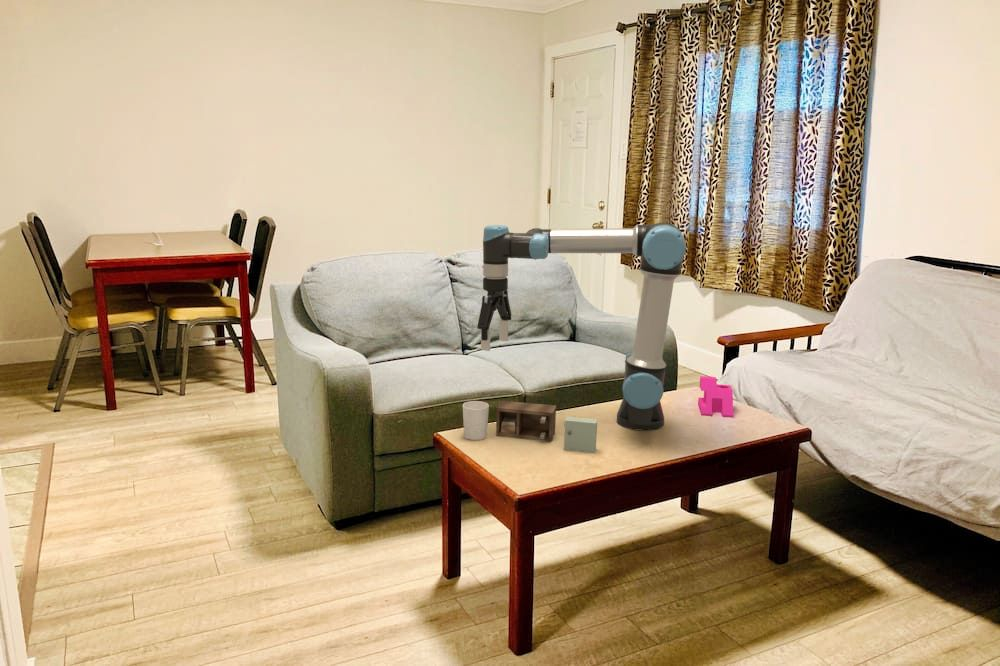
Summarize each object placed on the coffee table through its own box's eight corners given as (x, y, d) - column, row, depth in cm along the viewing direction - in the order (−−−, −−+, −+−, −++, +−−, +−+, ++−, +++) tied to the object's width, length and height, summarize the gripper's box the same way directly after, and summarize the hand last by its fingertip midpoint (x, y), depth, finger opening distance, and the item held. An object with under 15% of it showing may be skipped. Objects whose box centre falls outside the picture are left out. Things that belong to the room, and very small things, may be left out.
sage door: (595, 448, 224) (597, 419, 222) (594, 453, 220) (595, 424, 218) (565, 445, 226) (566, 416, 224) (563, 450, 222) (564, 421, 220)
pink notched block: (697, 404, 266) (700, 376, 263) (728, 406, 264) (731, 378, 262) (701, 415, 254) (703, 386, 252) (733, 418, 253) (736, 388, 250)
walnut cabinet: (555, 433, 236) (556, 405, 233) (550, 444, 227) (551, 415, 224) (501, 428, 239) (501, 400, 237) (494, 438, 230) (494, 410, 228)
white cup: (489, 432, 235) (490, 401, 233) (486, 441, 228) (487, 410, 225) (464, 431, 236) (464, 400, 234) (460, 440, 228) (460, 408, 226)
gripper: (500, 270, 243) (499, 335, 248) (466, 282, 221) (466, 353, 226) (522, 272, 240) (521, 337, 245) (489, 284, 218) (489, 356, 223)
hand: (494, 345), depth 236 cm, fingers open, 13 cm apart
